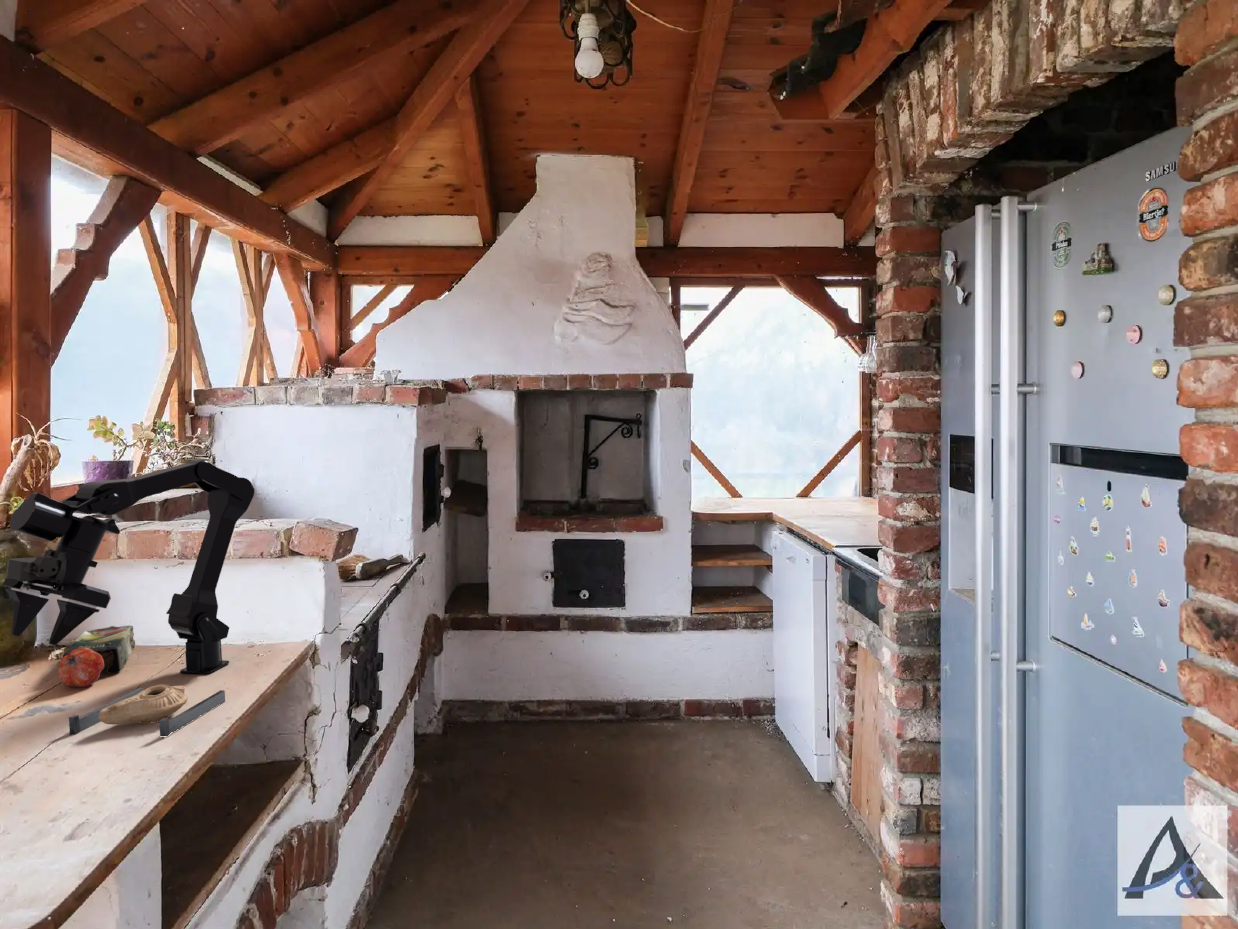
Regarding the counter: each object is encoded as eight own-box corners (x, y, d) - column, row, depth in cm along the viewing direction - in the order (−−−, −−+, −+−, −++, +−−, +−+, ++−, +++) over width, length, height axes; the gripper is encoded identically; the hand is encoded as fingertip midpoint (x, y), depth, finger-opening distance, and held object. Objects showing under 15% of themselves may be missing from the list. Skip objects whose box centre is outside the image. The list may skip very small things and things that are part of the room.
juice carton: (83, 653, 165) (81, 626, 164) (136, 647, 169) (135, 620, 168) (61, 685, 147) (59, 653, 146) (121, 677, 151) (119, 646, 150)
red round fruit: (71, 692, 148) (35, 675, 139) (91, 655, 152) (57, 637, 143) (105, 697, 147) (70, 681, 138) (124, 660, 151) (92, 643, 142)
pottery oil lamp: (91, 725, 125) (104, 681, 128) (172, 731, 132) (182, 688, 135) (100, 721, 119) (113, 675, 122) (185, 727, 126) (195, 683, 129)
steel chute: (139, 698, 137) (138, 683, 137) (225, 701, 135) (224, 686, 135) (69, 734, 123) (68, 717, 122) (165, 738, 120) (164, 720, 120)
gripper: (-6, 529, 128) (-54, 621, 123) (70, 542, 122) (23, 639, 116) (56, 549, 138) (14, 635, 132) (129, 562, 131) (88, 652, 126)
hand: (33, 640), depth 126 cm, fingers open, 9 cm apart
